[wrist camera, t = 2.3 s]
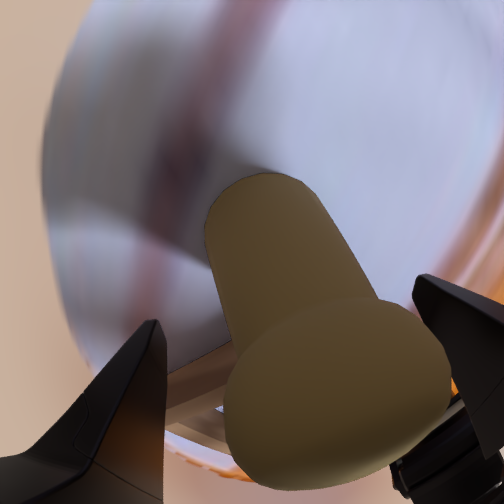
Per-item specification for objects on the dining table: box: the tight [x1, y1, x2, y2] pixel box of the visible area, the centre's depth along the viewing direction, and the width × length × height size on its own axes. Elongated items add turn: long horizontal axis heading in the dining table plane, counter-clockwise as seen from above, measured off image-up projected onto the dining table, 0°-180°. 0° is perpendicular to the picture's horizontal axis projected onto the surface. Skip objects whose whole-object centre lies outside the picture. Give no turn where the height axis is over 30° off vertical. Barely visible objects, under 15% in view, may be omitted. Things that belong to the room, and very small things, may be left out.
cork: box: [205, 173, 451, 491], centre depth 9 cm, size 6×6×11 cm
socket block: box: [165, 341, 238, 456], centre depth 18 cm, size 11×11×3 cm
